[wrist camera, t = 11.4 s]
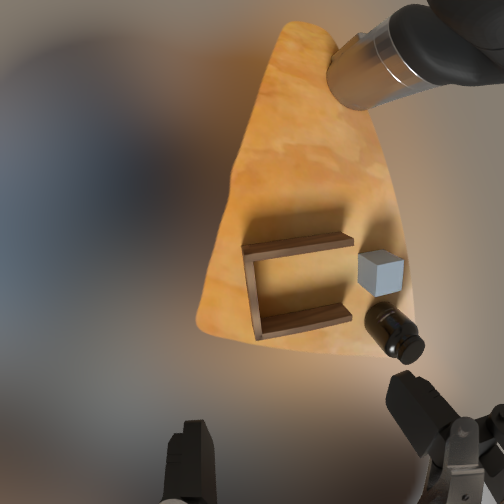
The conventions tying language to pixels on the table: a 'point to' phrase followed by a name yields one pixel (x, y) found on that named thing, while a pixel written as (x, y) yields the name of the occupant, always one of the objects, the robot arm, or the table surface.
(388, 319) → the supplement bottle
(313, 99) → the table surface
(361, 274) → the slate block
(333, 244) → the brown three-sided frame
